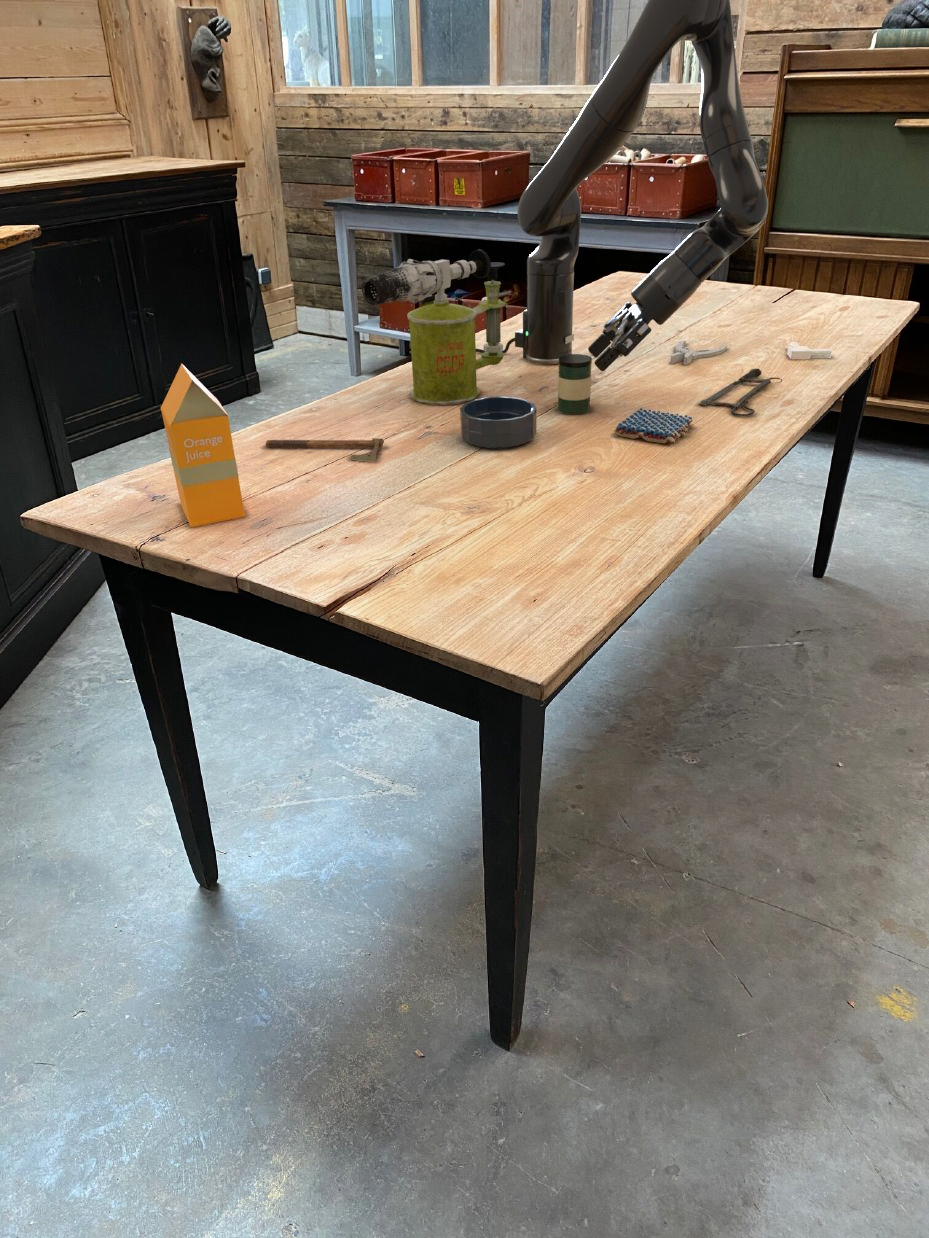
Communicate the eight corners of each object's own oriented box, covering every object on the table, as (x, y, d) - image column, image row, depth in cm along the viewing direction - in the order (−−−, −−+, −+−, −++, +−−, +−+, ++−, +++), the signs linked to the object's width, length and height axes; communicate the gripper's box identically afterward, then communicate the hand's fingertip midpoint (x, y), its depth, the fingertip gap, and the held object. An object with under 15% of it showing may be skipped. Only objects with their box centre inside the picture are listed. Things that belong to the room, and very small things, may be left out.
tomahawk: (256, 464, 150) (255, 457, 149) (269, 443, 156) (268, 436, 155) (376, 465, 147) (375, 458, 147) (384, 444, 153) (383, 437, 152)
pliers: (728, 341, 195) (702, 359, 184) (727, 348, 195) (701, 367, 185) (683, 336, 199) (655, 353, 189) (682, 343, 200) (654, 361, 189)
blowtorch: (528, 379, 182) (528, 242, 169) (406, 424, 161) (395, 273, 149) (478, 368, 189) (474, 236, 177) (356, 410, 169) (342, 264, 156)
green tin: (551, 410, 165) (551, 360, 161) (569, 402, 169) (570, 352, 164) (578, 416, 162) (579, 365, 157) (596, 408, 166) (598, 357, 161)
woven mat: (696, 427, 156) (697, 415, 155) (672, 447, 148) (673, 435, 147) (637, 417, 161) (638, 406, 160) (611, 436, 153) (611, 424, 152)
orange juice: (189, 527, 128) (160, 383, 118) (179, 504, 135) (151, 366, 125) (246, 516, 131) (222, 374, 121) (233, 494, 138) (210, 358, 128)
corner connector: (823, 348, 193) (824, 340, 192) (832, 359, 186) (833, 351, 186) (783, 348, 194) (784, 340, 193) (790, 359, 187) (792, 351, 186)
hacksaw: (752, 374, 180) (753, 366, 179) (804, 382, 174) (806, 374, 173) (692, 407, 164) (693, 399, 163) (748, 418, 158) (749, 410, 158)
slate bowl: (446, 441, 154) (445, 411, 151) (492, 420, 162) (491, 392, 159) (505, 456, 147) (505, 425, 145) (550, 434, 155) (550, 404, 153)
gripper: (643, 264, 160) (574, 335, 166) (659, 281, 148) (584, 357, 154) (672, 295, 163) (603, 363, 169) (690, 314, 150) (615, 387, 156)
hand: (594, 360), depth 161 cm, fingers open, 8 cm apart
